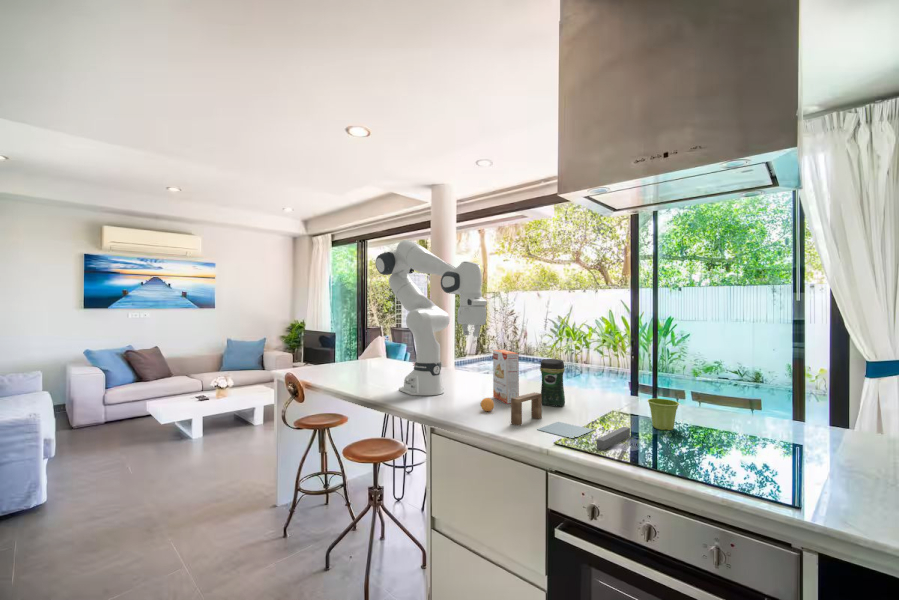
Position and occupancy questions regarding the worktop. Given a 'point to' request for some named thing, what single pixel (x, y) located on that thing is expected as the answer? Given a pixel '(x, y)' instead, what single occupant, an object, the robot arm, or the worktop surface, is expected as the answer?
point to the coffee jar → (552, 382)
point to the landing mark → (565, 430)
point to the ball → (487, 404)
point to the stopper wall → (613, 438)
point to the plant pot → (663, 413)
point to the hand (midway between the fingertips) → (470, 335)
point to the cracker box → (505, 375)
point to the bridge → (517, 407)
